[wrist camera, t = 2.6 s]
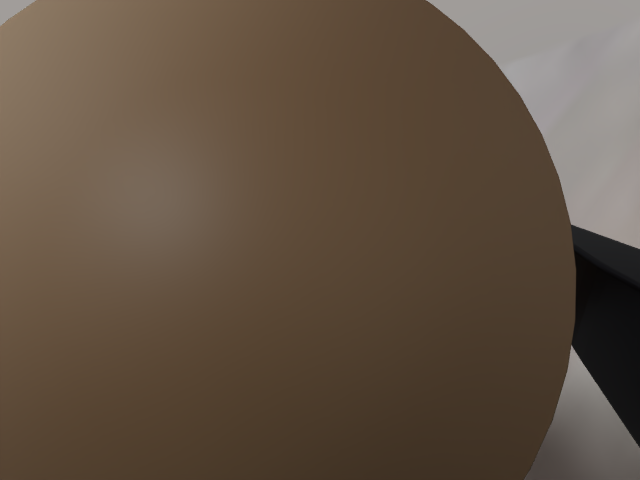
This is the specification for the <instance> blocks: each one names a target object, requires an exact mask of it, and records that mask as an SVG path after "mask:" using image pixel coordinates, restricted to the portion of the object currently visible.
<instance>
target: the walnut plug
mask: <svg viewBox="0 0 640 480" xmlns="http://www.w3.org/2000/svg"><path fill="white" fill-rule="evenodd" d="M575 301H576V266H575V257H574V249H573V240H572V231H571V223H570V219H569V215H568V211H567V207H566V203H565V199H564V195H563V191H562V187H561V183H560V179H559V176H558V174H557V171H556V169H555V166H554V164H553V161H552V159H551V156H550V154H549V151H548V149H547V146H546V144H545V141H544V139H543V136H542V134H541V132H540V130H539V129H538V127H537V125H536V123H535V122H534V120H533V118H532V116H531V114H530V113H529V111H528V109H527V107H526V105H525V104H524V102H523V100H522V98H521V97H520V95H519V94H518V92H517V91H516V90H515V88H514V87H513V86H512V84H511V83H510V82H509V80H508V79H507V78H506V76H505V75H504V74H503V72H502V71H501V70H500V68H499V67H498V66H497V64H496V63H495V62H494V60H493V59H492V58H491V57H490V56H489V55H488V54H487V53H486V52H485V51H484V50H483V49H482V48H481V47H480V46H479V45H478V44H477V43H476V42H475V41H474V40H473V39H472V38H471V37H470V36H469V35H468V34H467V33H466V32H465V30H463V29H462V28H461V27H460V26H458V25H457V24H456V23H455V22H453V21H452V20H451V19H450V18H448V17H447V16H446V15H445V14H443V13H442V12H441V11H440V10H438V9H437V8H436V7H435V6H433V5H432V4H431V3H429V2H428V1H426V0H36V1H35V2H33V3H32V4H30V5H29V6H27V7H26V8H25V9H23V10H22V11H20V12H19V13H17V14H16V15H14V16H13V17H11V18H10V19H8V20H7V21H6V22H5V23H4V24H3V25H1V26H0V480H523V479H524V478H525V476H526V475H527V473H528V472H529V470H530V468H531V466H532V464H533V462H534V460H535V457H536V455H537V453H538V451H539V449H540V446H541V444H542V442H543V440H544V438H545V435H546V433H547V431H548V429H549V427H550V425H551V422H552V420H553V417H554V413H555V410H556V407H557V403H558V400H559V397H560V393H561V390H562V387H563V383H564V380H565V377H566V373H567V369H568V363H569V356H570V350H571V344H572V337H573V331H574V324H575Z"/></svg>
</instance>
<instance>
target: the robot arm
mask: <svg viewBox="0 0 640 480" xmlns="http://www.w3.org/2000/svg"><path fill="white" fill-rule="evenodd" d="M571 231H572V240H573V249H574V257H575V266H576V301H575V324H574V331H573V337H572V344H571V345H572V347H573V348H574V350H575V351H576V353H577V355H578V356H579V358H580V359H581V361H582V362H583V364H584V365H585V367H586V368H587V370H588V371H589V373H590V374H591V376H592V377H593V379H594V380H595V382H596V383H597V385H598V386H599V388H600V389H601V391H602V392H603V394H604V395H605V397H606V398H607V400H608V401H609V403H610V404H611V406H612V407H613V409H614V410H615V412H616V413H617V415H618V416H619V418H620V419H621V421H622V422H623V424H624V425H625V427H626V428H627V430H628V431H629V433H630V434H631V436H632V437H633V439H634V440H635V441H636V443H637V444H638V446H639V447H640V249H638V248H635V247H632V246H629V245H626V244H624V243H621V242H618V241H615V240H613V239H610V238H607V237H604V236H601V235H599V234H596V233H593V232H590V231H588V230H585V229H582V228H579V227H576V226H574V225H571Z"/></svg>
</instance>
